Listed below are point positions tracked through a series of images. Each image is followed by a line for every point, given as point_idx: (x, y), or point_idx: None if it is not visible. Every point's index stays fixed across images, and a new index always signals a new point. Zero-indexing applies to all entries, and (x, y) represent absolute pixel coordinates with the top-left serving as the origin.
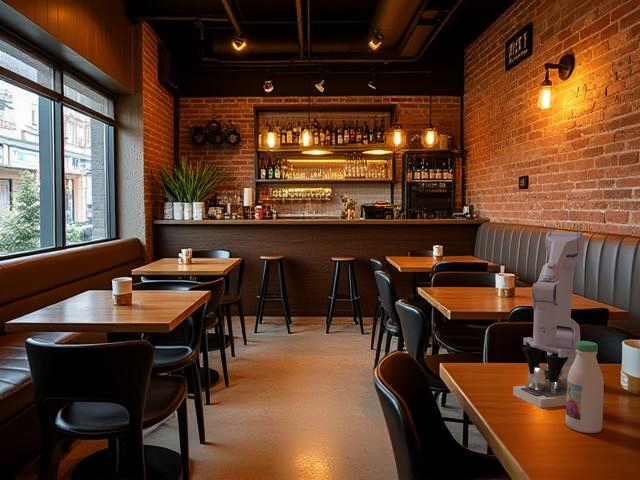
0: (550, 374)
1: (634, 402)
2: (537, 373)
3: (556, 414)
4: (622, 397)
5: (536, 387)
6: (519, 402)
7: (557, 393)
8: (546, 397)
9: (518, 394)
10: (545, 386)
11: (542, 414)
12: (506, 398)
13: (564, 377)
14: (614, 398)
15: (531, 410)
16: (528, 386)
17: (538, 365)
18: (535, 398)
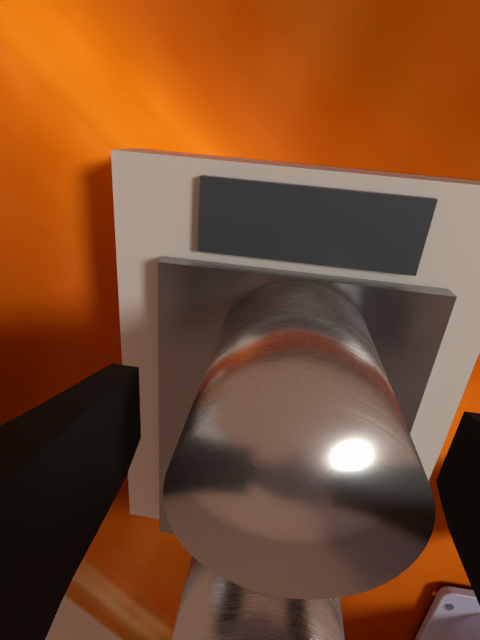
0: (44, 403)
1: (96, 619)
2: (279, 365)
3: (5, 164)
4: (160, 633)
5: (290, 288)
6: (319, 76)
7: (160, 373)
8: (150, 250)
9: (431, 177)
10: (218, 341)
11: (18, 47)
12: (468, 27)
13: (194, 560)
14: (159, 606)
15: (118, 23)
16: (406, 290)
17: (476, 585)
18: (187, 156)
